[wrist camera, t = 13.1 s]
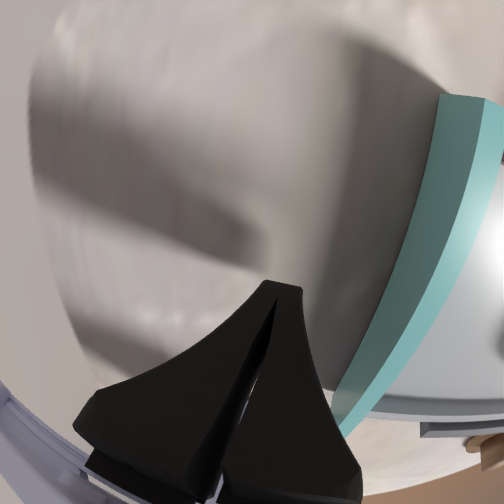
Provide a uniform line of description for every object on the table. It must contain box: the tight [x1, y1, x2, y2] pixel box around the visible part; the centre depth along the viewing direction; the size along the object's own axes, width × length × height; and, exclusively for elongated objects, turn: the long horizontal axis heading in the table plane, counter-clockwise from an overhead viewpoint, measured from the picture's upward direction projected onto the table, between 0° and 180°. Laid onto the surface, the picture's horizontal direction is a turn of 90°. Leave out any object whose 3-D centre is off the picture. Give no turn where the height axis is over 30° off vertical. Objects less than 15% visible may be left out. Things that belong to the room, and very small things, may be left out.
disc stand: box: [466, 432, 504, 472], centre depth 14 cm, size 6×6×4 cm
